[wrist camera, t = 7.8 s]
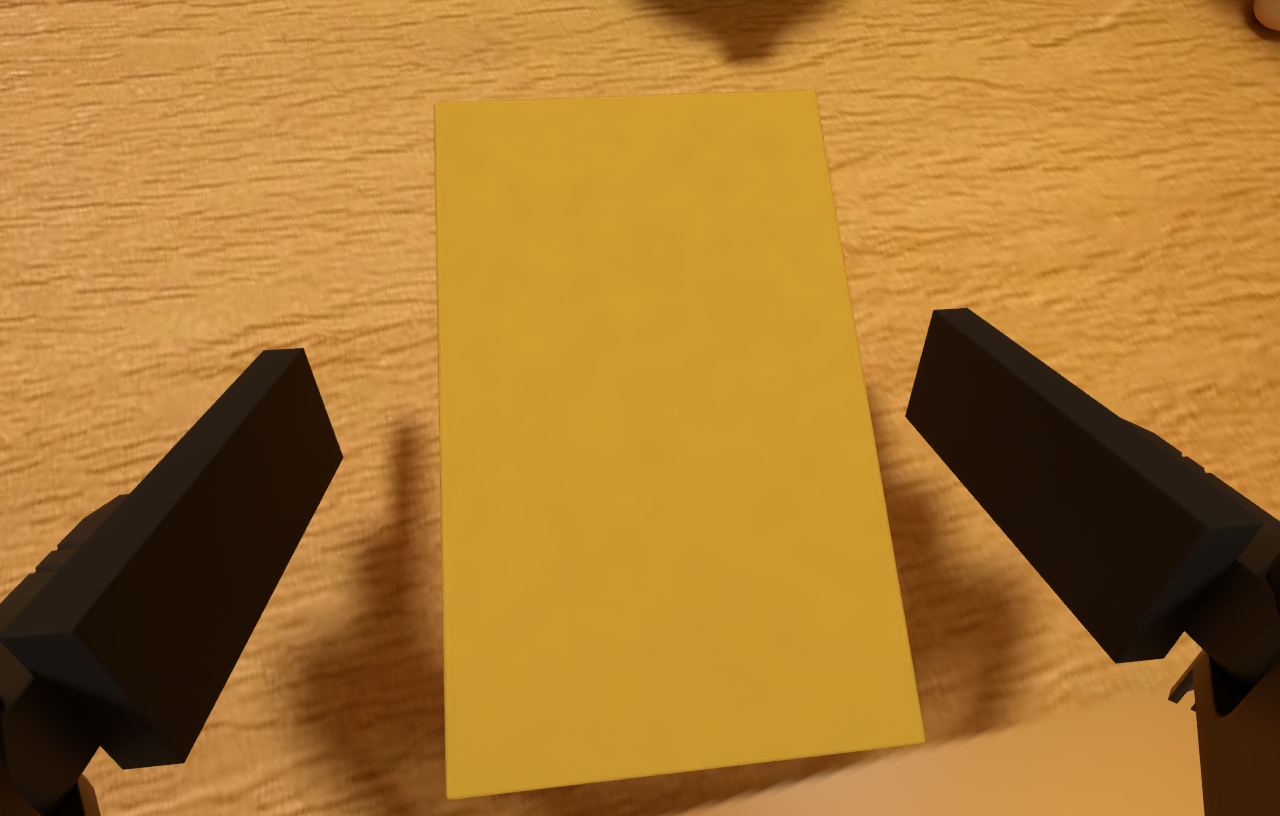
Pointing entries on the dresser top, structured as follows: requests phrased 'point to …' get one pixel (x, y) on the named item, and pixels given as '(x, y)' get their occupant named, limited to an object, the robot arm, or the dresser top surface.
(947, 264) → the dresser top surface
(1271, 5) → the planter
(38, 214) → the dresser top surface
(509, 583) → the yellow block
